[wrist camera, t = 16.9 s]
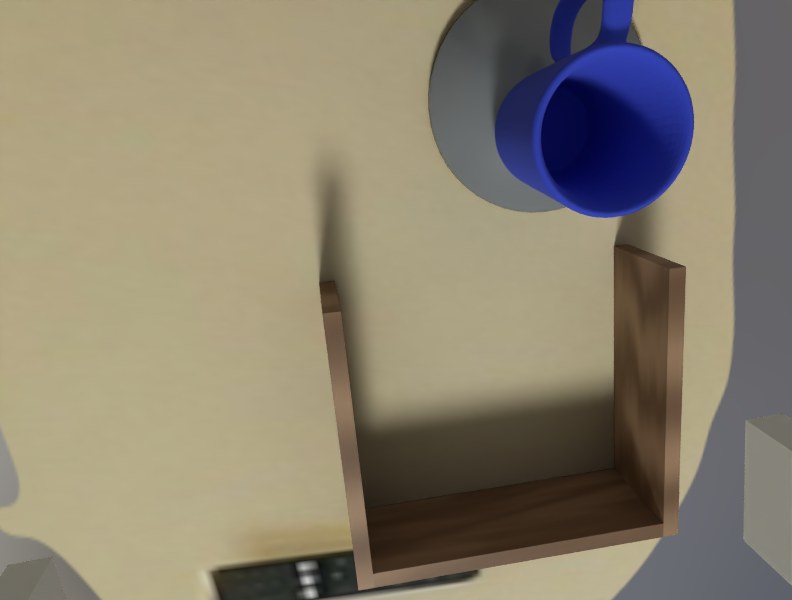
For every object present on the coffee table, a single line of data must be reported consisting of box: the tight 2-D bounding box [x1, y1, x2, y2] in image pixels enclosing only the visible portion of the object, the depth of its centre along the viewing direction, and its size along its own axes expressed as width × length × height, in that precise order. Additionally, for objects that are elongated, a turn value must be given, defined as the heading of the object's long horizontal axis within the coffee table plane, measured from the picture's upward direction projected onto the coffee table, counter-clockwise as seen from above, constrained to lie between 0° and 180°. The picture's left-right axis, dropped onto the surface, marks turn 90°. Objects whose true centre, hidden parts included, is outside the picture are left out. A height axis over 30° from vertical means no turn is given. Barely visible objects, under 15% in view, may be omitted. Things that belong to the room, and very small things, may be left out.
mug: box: [495, 0, 694, 218], centre depth 36 cm, size 8×12×10 cm
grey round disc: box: [428, 0, 641, 212], centre depth 41 cm, size 14×14×1 cm
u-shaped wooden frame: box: [319, 245, 686, 590], centre depth 43 cm, size 18×21×7 cm
